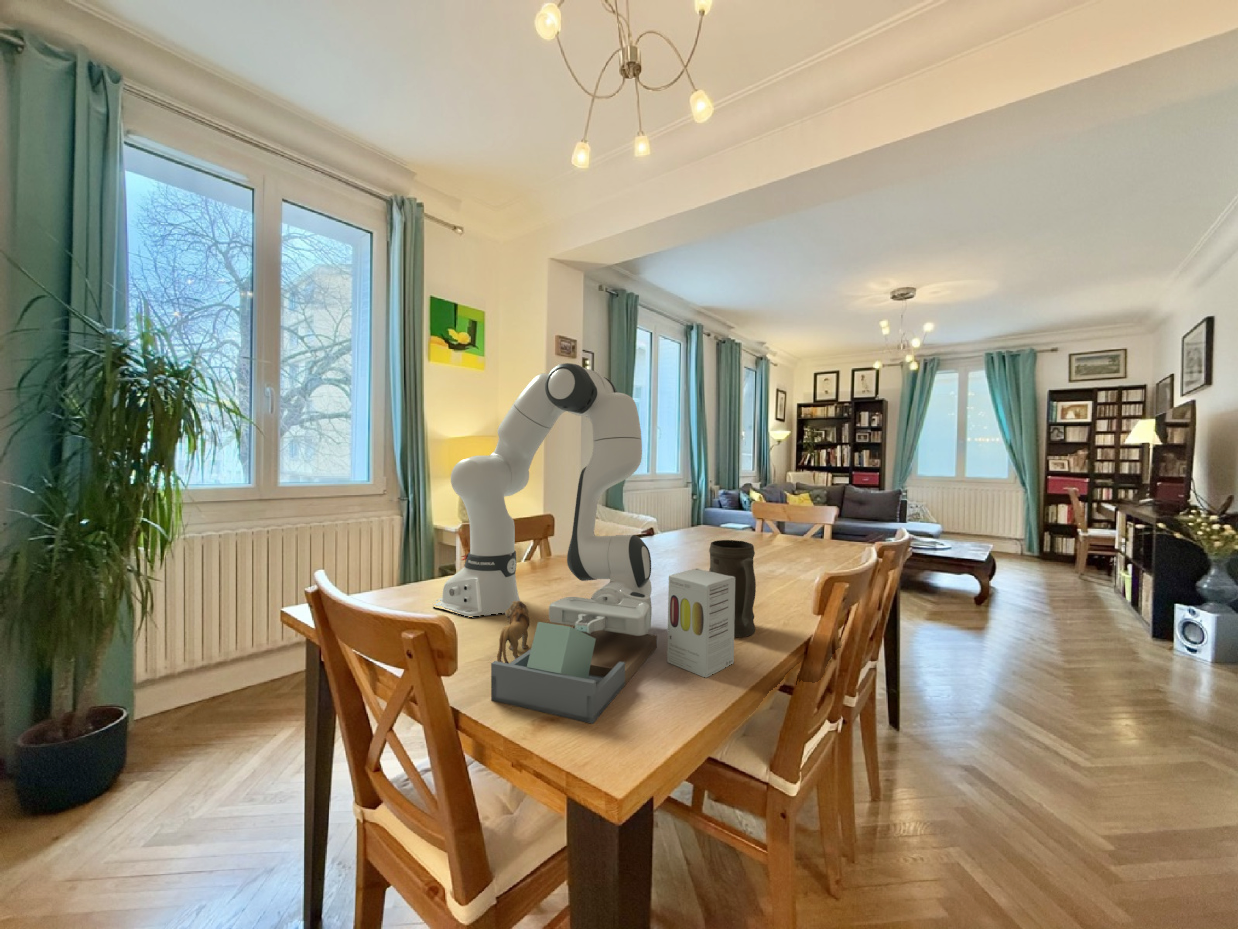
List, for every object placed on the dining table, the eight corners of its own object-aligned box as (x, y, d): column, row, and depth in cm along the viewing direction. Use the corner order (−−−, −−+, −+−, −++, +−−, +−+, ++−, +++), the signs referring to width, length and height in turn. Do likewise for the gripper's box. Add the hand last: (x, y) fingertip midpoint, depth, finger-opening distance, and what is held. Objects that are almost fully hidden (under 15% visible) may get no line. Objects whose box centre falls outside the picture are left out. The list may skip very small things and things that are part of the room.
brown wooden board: (534, 668, 92) (534, 654, 92) (577, 635, 109) (578, 623, 108) (624, 685, 85) (624, 671, 85) (656, 647, 102) (656, 635, 102)
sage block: (556, 675, 87) (526, 667, 78) (565, 634, 90) (537, 621, 81) (587, 681, 85) (560, 673, 76) (595, 638, 88) (570, 626, 79)
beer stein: (695, 623, 116) (699, 539, 114) (733, 617, 120) (738, 536, 119) (735, 652, 102) (740, 557, 100) (777, 644, 106) (782, 553, 105)
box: (491, 700, 80) (491, 663, 80) (534, 668, 92) (534, 635, 92) (592, 723, 73) (593, 683, 73) (624, 685, 85) (625, 650, 85)
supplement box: (665, 662, 95) (666, 574, 94) (694, 649, 101) (695, 567, 101) (707, 679, 88) (708, 584, 87) (735, 663, 94) (736, 575, 94)
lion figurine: (505, 640, 105) (505, 598, 105) (531, 640, 106) (531, 598, 105) (493, 671, 90) (493, 622, 90) (523, 670, 91) (523, 621, 91)
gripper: (567, 586, 107) (532, 604, 94) (658, 597, 99) (634, 618, 86) (567, 615, 107) (532, 637, 94) (657, 628, 99) (633, 654, 86)
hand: (581, 628), depth 90 cm, fingers closed
